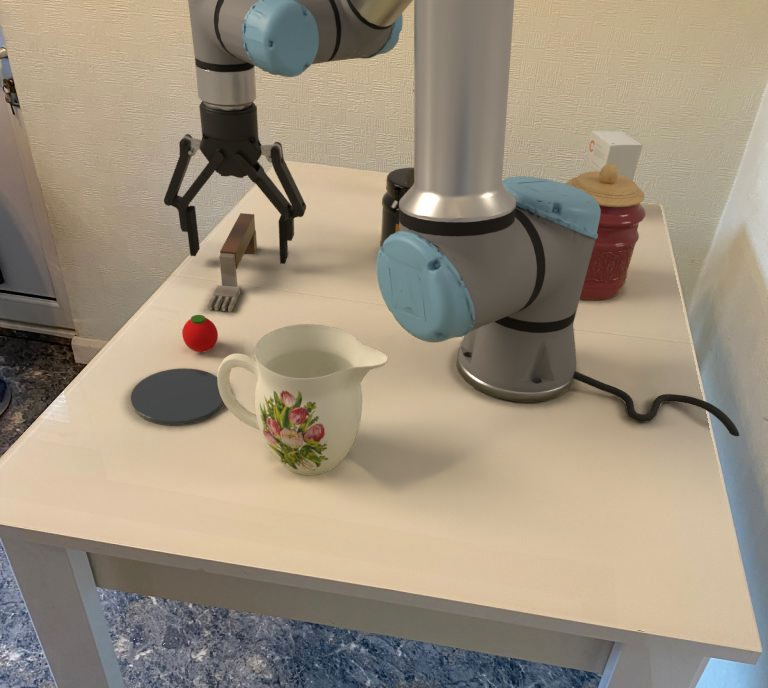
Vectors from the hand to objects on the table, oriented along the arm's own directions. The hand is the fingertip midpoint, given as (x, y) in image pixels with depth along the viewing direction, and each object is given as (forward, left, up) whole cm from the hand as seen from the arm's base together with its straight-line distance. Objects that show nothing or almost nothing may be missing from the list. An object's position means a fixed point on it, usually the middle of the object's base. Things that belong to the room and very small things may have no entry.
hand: (239, 256), depth 112 cm
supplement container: (-18, -21, -2) cm, 28 cm away
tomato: (-12, +21, -2) cm, 25 cm away
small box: (-35, -60, -2) cm, 70 cm away
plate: (-18, +31, -2) cm, 36 cm away
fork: (-2, +3, -2) cm, 4 cm away
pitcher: (-36, +30, -2) cm, 47 cm away
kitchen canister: (-44, -30, -2) cm, 53 cm away
